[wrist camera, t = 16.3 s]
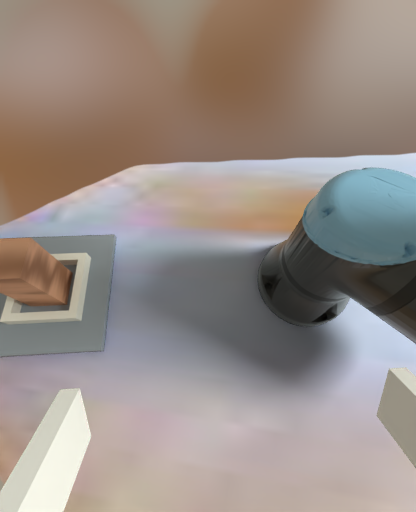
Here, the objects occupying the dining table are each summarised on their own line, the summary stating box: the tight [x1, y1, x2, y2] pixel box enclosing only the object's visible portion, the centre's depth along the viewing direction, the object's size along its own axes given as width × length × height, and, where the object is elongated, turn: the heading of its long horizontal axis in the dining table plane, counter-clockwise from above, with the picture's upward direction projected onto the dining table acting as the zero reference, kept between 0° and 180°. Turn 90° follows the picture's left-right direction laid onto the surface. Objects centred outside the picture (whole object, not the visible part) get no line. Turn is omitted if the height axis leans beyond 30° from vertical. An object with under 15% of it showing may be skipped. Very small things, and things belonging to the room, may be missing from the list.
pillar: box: [0, 238, 73, 307], centre depth 37 cm, size 6×6×12 cm
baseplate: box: [0, 235, 116, 357], centre depth 42 cm, size 20×18×3 cm
